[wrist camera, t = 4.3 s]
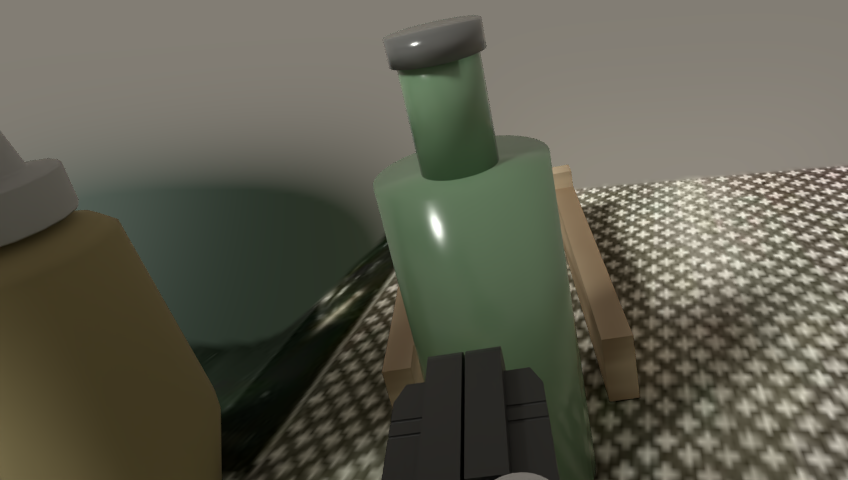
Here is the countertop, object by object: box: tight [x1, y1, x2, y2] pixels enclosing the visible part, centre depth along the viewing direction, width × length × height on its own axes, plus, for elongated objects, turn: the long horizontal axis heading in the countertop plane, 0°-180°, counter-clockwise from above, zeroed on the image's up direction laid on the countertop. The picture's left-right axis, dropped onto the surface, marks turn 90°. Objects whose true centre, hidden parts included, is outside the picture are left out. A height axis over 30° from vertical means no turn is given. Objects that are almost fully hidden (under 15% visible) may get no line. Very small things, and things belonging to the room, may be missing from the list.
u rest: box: [382, 165, 640, 409], centre depth 35 cm, size 10×18×4 cm, turn 176°
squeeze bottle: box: [0, 131, 222, 480], centre depth 24 cm, size 8×8×18 cm
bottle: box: [373, 15, 596, 480], centre depth 22 cm, size 5×5×16 cm
